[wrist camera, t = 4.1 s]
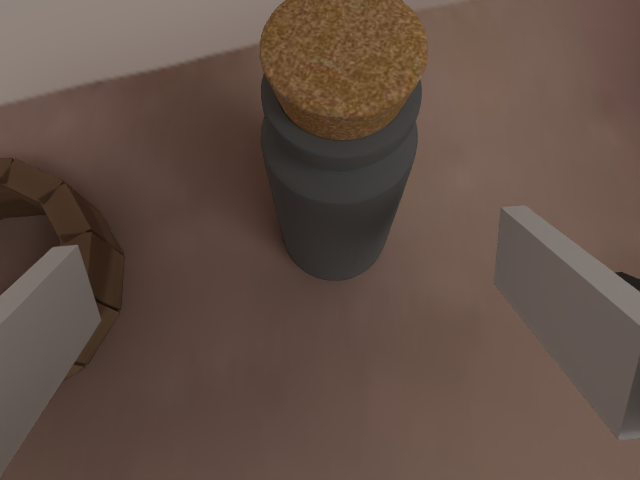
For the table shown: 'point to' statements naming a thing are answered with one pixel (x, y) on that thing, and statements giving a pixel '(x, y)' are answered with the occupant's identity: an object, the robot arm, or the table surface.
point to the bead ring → (69, 237)
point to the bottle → (340, 125)
